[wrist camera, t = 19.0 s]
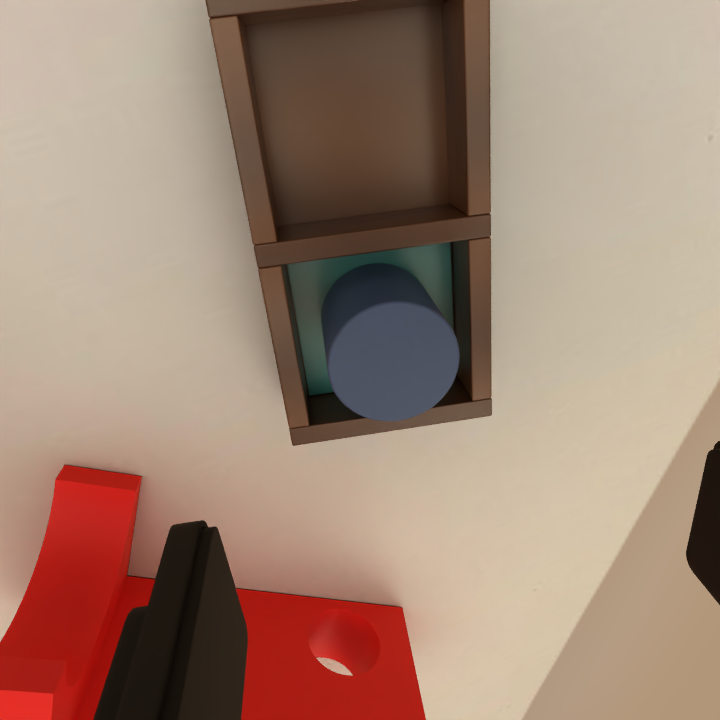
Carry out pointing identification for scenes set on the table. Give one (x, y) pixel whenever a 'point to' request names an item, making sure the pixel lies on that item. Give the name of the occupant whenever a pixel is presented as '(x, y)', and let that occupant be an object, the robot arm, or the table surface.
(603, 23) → the table surface
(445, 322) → the cylinder
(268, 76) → the holder
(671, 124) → the table surface
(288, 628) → the bracket
